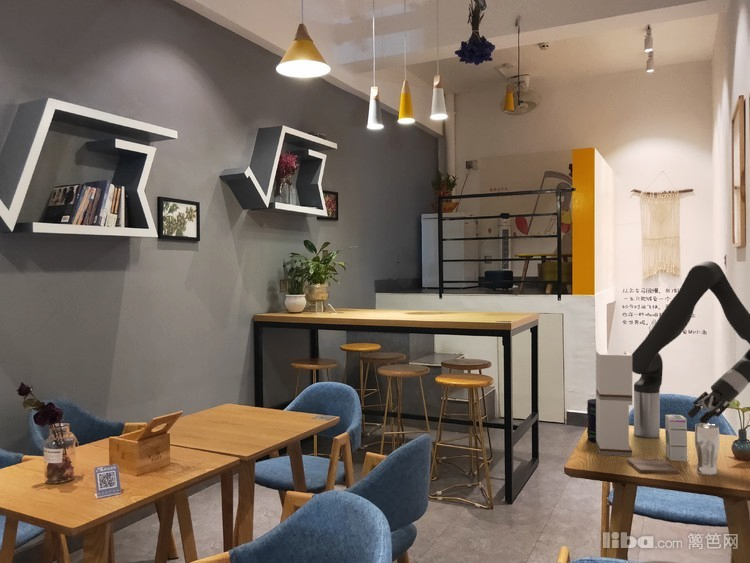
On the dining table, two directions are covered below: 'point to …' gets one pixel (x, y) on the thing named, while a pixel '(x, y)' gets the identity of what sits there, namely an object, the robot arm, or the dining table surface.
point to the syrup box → (676, 437)
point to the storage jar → (591, 420)
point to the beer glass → (707, 448)
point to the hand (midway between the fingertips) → (695, 419)
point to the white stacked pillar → (613, 403)
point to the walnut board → (652, 466)
